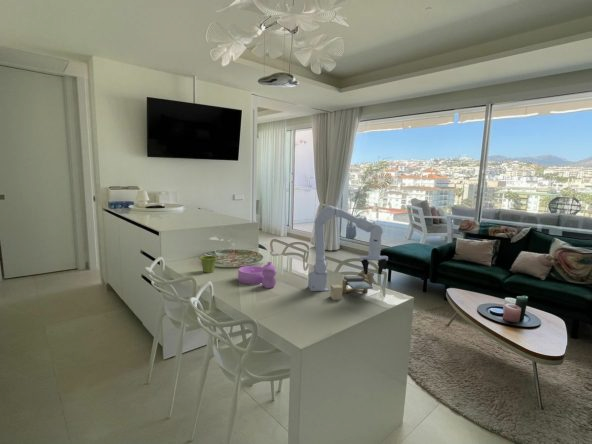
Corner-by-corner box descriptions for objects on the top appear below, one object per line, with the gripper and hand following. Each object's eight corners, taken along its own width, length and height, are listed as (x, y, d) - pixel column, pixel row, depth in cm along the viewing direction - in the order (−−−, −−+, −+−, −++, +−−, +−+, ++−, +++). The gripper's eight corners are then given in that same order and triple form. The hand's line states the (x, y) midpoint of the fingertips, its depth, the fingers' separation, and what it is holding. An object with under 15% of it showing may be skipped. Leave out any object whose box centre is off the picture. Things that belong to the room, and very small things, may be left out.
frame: (343, 293, 165) (344, 280, 164) (340, 290, 170) (341, 277, 169) (367, 292, 167) (368, 280, 167) (363, 289, 172) (364, 277, 172)
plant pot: (199, 270, 195) (199, 256, 194) (214, 269, 199) (215, 255, 198) (201, 274, 187) (201, 259, 185) (217, 273, 191) (218, 258, 189)
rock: (361, 287, 172) (365, 269, 174) (353, 285, 177) (356, 267, 179) (376, 291, 179) (380, 273, 180) (367, 289, 184) (371, 272, 186)
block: (332, 299, 155) (333, 287, 155) (330, 296, 160) (330, 284, 159) (341, 299, 156) (342, 287, 155) (338, 296, 161) (339, 284, 160)
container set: (232, 280, 179) (233, 256, 177) (253, 275, 190) (254, 253, 189) (262, 291, 162) (263, 266, 161) (283, 285, 174) (284, 261, 172)
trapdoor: (353, 292, 156) (353, 284, 156) (342, 282, 170) (343, 276, 170) (372, 291, 158) (372, 284, 158) (360, 282, 172) (361, 275, 172)
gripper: (364, 249, 158) (362, 276, 160) (391, 249, 161) (389, 276, 163) (358, 246, 165) (357, 272, 167) (385, 246, 168) (383, 272, 170)
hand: (372, 274), depth 165 cm, fingers open, 7 cm apart
